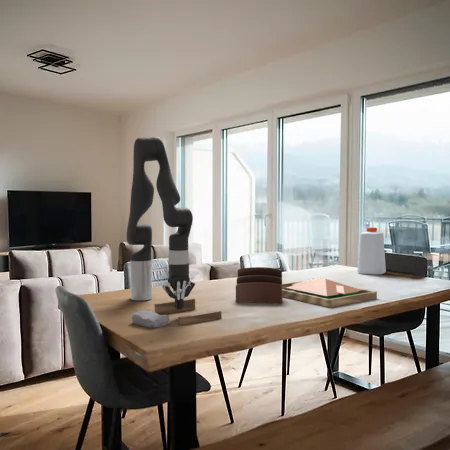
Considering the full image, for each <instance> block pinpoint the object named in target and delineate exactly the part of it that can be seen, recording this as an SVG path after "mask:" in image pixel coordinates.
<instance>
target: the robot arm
mask: <svg viewBox="0 0 450 450" xmlns="http://www.w3.org/2000/svg"><path fill="white" fill-rule="evenodd" d="M153 161H154V162H155V161H156V162H157V163H158V167H159V171H158V174H157V179H156V183H155V184H156V186H155V187H156V190H157V193H158V196H159V199H160V201H161V207H162V214H163V215H162V216H163V221H164V223H165V224H166V225H167V226H168V227H169V228H177V230H176V232H174V233H171V234H170V235H169V237H168V256H167V257H168V261H167V262H168V279H167V283H165V284H163V285H162V288H163V290H164V291H165V293H166V295H168V296H169V298H171V299H174V301H175V308H176V309H178V310H181V309H182V308H183V306H184V305H183V300H185V298H187V297H189V296H190V294H191V292H192V290H193V289H194V287H195V285H196V283H195V282H192V280H191V279H190V276H189V275H190V253H189V237H190V233H191V229H192V226H193V221H194V216H193V213H192V211H191V209H190V208H188V207H176V205H178V204H179V203H180V201H181V195H180V193H179V190H178V189H177V186H176V183H175V182H174V178H173V175H172V172H171V166H170V163H169V159H168V155H167V151H166V147H165V143H164V142H163V140H162V138H161V137H159V136H147V137H146V136H145V137H144V136H143V137H137V138H136V139H135V140H134V143H133V165H132V166H133V169H132V170H133V172H132V182H131V189H130V190H131V191H130V204H129V205H130V207H129V216H128V221H127V222H128V223H127V229H126V242H127V244H128V245H130V246H143V247H142V248H141V249H139V250H137V251H135V252H133V253H132V252H131V254H130V261H129V262H130V265H129V266H130V300H132V301H138V302H139V301H149V300H152V299H153V280H152V279H153V274H152V273H153V268H152V266H153V265H152V264H153V263H152V258H153V257H152V247H153V244H152V242H153V229H152V226H151V224H148V223H139V221H140V219H141V218H142V217H143V215H144V214H145V213H147V212H148V210H149V209H150V208H151V207H152V205H153V202H154V196H155V195H154V194H155V187H154V184H153V183H152V181H151V179H150V178H149V176H148V175H147V172H146V169H145V163H146V162H153ZM171 288H172V289H171Z"/></svg>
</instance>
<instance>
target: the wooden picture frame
mask: <svg viewBox="0 0 450 450" xmlns="http://www.w3.org/2000/svg"><path fill="white" fill-rule="evenodd" d="M303 281H304V280H302V281H295V282H287V283H282V298H287V299H292V300H295V301H300V302H304V303H309V304H314V305H318V306H321V307H325V308H326V307H327V308H332V307H333V308H334V307H338V306H340V307H341V306H343V305H349V304H355V303H359V302H360V303H361V302H366V301H370V300H376V299H378V291H377V290H376V291H375V290H368V289H364V288H357V287H356V288H357V289H360V290H362V291H359V292H356V293H354V295H352V294H351V295H350V296H349V295H348V296H346V295H345V296H344V295H343V296H344V297H341V296H340V297H339V296H338V297H334V298H332V299H329V298H327V297H322V296H321V297H319V296H318V297H317V295H315V296H313V294H306V293H303V294H302V292H299V291H298V292H297V291H294V290H291V289H288V288H286V287H289V286H293V285H292V284H295V283H299V282H303Z"/></svg>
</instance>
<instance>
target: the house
mask: <svg viewBox="0 0 450 450" xmlns="http://www.w3.org/2000/svg"><path fill="white" fill-rule="evenodd" d="M302 281H303V282H300V281H298V282H299V283H295V284H292V285H293V286H289V287H286V288H288V289H290V290H292V291H294V292H298V293H302V294H304V293H305V294H307V295H309V294H311V295H312V296H317V297H321V298H325V297H328V299H333V298H335V297H338V298H339V297H344V296H350V295H354V293H356V292H359V291H362V290H360V289H361V288H359V289H357V287H354V286H350V285H347V284H343V283H340V282H337V281H333V280H331V279H327V278H323V277H319V278H311V279H307V280H302Z"/></svg>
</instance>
